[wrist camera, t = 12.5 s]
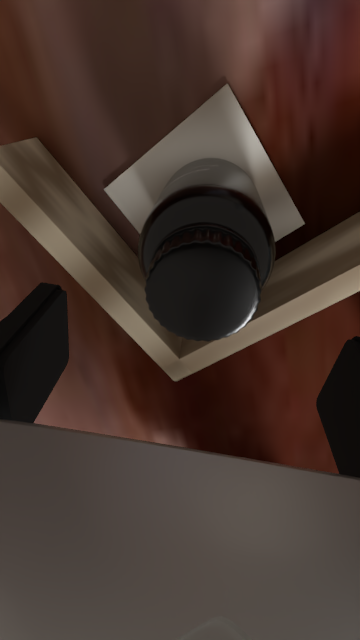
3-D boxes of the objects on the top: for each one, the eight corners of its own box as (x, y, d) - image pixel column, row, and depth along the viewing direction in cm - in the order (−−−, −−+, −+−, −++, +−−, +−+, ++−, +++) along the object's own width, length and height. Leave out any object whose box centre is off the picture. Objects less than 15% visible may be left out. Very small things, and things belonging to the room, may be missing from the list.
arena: (392, 216, 23) (442, 250, 18) (181, 334, 30) (175, 382, 25) (260, -99, 16) (282, -189, 11) (21, 153, 23) (-32, 169, 18)
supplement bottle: (189, 134, 21) (167, 169, 11) (279, 190, 22) (332, 266, 12) (143, 228, 25) (96, 319, 15) (223, 271, 26) (230, 381, 16)
